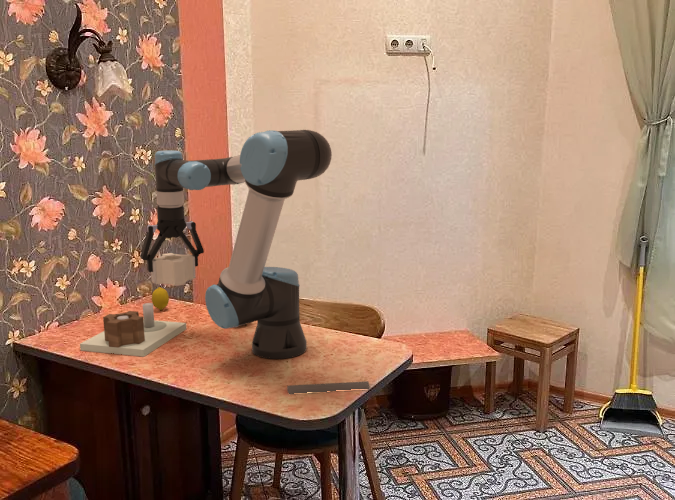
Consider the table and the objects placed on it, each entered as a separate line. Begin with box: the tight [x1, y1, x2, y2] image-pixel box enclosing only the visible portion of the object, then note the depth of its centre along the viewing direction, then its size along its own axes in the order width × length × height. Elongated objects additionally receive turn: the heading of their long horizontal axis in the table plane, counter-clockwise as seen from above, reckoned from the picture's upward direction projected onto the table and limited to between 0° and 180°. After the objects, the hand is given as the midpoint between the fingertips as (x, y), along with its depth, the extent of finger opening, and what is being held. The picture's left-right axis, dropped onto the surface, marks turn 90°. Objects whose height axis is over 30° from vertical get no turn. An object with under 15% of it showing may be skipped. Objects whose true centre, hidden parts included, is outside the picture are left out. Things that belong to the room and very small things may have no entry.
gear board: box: [79, 302, 187, 358], centre depth 193 cm, size 20×24×9 cm
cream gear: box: [153, 252, 195, 287], centre depth 193 cm, size 11×11×7 cm
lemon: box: [151, 286, 170, 311], centre depth 222 cm, size 6×6×8 cm
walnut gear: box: [102, 310, 145, 348], centre depth 186 cm, size 11×11×7 cm
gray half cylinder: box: [286, 380, 370, 395], centre depth 158 cm, size 4×20×2 cm, turn 96°
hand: (173, 279), depth 194 cm, fingers closed on cream gear, 11 cm apart
